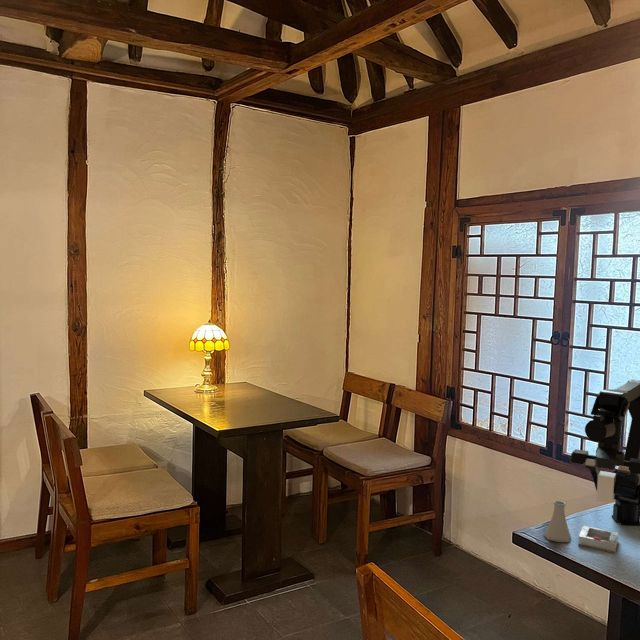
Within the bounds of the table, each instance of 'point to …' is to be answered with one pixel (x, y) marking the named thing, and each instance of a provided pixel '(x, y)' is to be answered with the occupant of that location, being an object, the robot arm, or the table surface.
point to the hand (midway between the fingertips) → (605, 491)
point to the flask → (558, 524)
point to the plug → (606, 486)
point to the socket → (598, 539)
